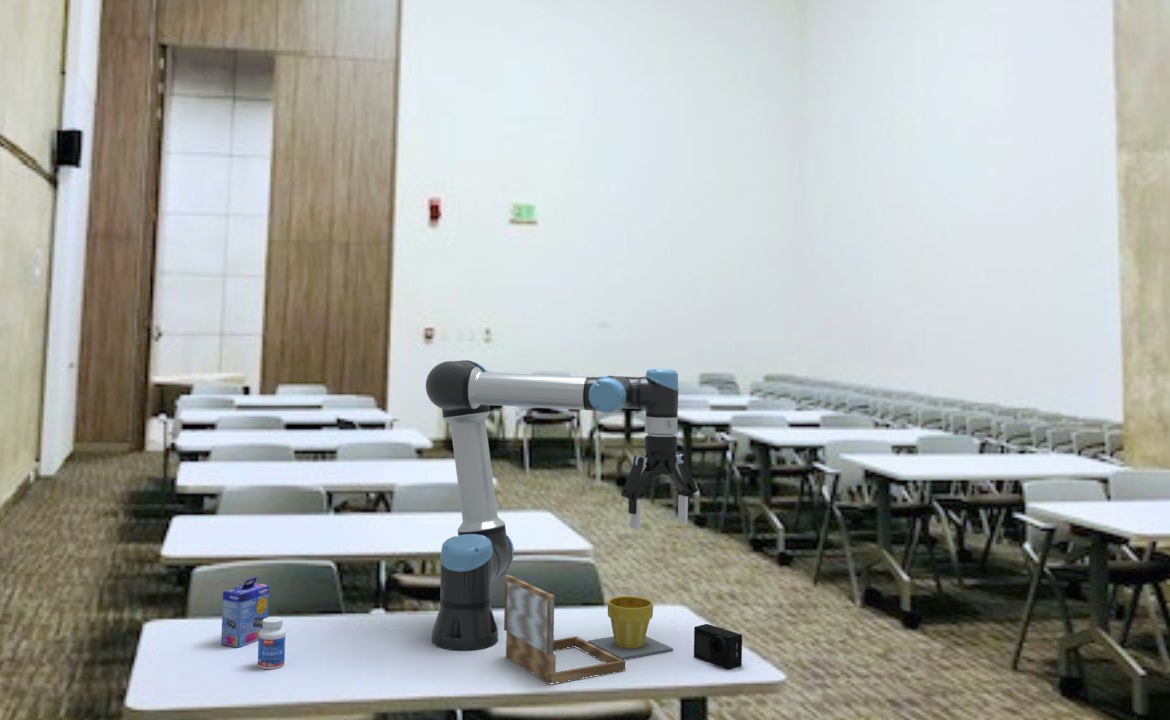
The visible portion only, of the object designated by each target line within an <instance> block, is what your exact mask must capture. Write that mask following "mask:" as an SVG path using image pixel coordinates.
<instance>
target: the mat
mask: <svg viewBox="0 0 1170 720" xmlns="http://www.w3.org/2000/svg"><path fill="white" fill-rule="evenodd" d="M587 642H589V643H591V644H593V645H594V646H596V647H598V648H600V649H602V650H604V651H606V652H608V653H610V654H612V655H614V656H616V657H618V658H620V659H622V660H624V659H627V660H631V659H630V658H633V659H637V658H636V657H638V658H642V657H643V656H644V657H648V656H649V657H650V656H654V655H659V654H660V655H661V654H665V653H670V652H673V651H674V648H673V647H671V646H669V645H666V644H665V643H662V642H660V641H657V640H656V639H653V638H651V637H649V636H647V635H646V637H645V641H644V645H643V646H641V647H639V648H622V647H619V646H617V645H616V644H615V641H614V635H613V636H609V637H602V638H595V639H590V640H589V639H588V640H587ZM624 661H625V660H624Z"/></svg>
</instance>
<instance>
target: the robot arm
mask: <svg viewBox="0 0 1170 720" xmlns="http://www.w3.org/2000/svg"><path fill="white" fill-rule="evenodd" d="M679 390H680V389H679V374H678V372H677V370H675V369H672V368H670V369H669V368H648V369H646V373H645V376H638V377H637V376H621V375H620V376H619V375H618V376H616V375H615V376H614V375H604V376H577V375H575V376H573V375H571V376H570V375H559V374H558V375H557V374H556V375H555V374H554V375H553V374H538V373H537V374H534V373H533V374H532V373H517V372H516V373H512V372H511V373H510V372H494V371H493V372H491V371H488V369H486V368H485V367H484V365H481V364H480V363H478V362H476V361H472V360H468V359H467V360H462V359H461V360H449V361H443V362H440V363H438V364H437V365H435V366H434V367H433V368H432V369H431V370H430V371H429V373H428V374H427V377H426V380H425V392H426V394H427V397H428V400H430V402H431V403H432V404H434V405H435V406H436V407H437V408H439V409H441V413H442V419H443V420H444V421H445V422H447V423H448V424H449V426H450V432H451V440H452V448H453V455H454V463H455V471H456V480H457V487H458V494H459V503H460V511H461V518H462V523H461V524H460V526H459V527H458V528H457V536H456V535H455V536H452V537H449V538H447V539H446V540H445V541H444V542H443V543H442V544H441V552H440V556H439V561H440V582H439V583H440V584H439V585H440V588H439V589H440V593H439V595H440V596H439V597H440V598H439V599H440V600H439V602H440V603H439V604H440V606H439V610H438V614H437V616H436V618H435V621H434V624H433V628H432V632H431V642H432V644H433V645H435V646H436V647H439V648H443V649H448V650H455V651H458V650H460V651H467V650H468V651H470V650H471V651H472V650H479V649H485V648H488V647H491V646H493V645H495V644H496V643H498V641H499V630H498V626H497V623H496V619H495V616H494V613H493V609H492V583H493V582H494V581H495V580H497V579H499V578H501V577H502V576H503V575H505V574H506V572H507V571H508V570H509V568H510V566H511V565H512V563H513V560H514V557H515V548H514V543H513V541H512V539H511V538H510V536H509V535H507V530H506V523H505V521H503V520H502V519H501V518H500V517H499V516H498V515H499V514H498V509H497V499H496V493H495V486H494V477H493V469H492V463H491V455H490V448H489V438H488V431H487V424H486V419H487V418H488V417H489V415H490V414H491V408H490V406H501V407H502V406H503V407H519V408H520V407H521V408H541V409H559V410H560V409H562V410H579V411H595V412H601V413H606V414H607V413H614V412H617V411H619V410H621V409H628V410H629V409H636V410H642V409H643V410H645V423H644V426H645V427H644V432H645V434H647V435H645V437H644V452H645V457H643V456H638V455H636V456H634V457H633V461H632V462H633V464H632V467H631V468H630V469H631V470H630V472H629V474H628V476H627V478H626V482H625V483H624V486H623V488H622V491H621V494H620V495H621V497H623V498H626V499H627V500H628V514H630V528H632V529H635V530H640V529H641V503H642V502H641V501H642V500H641V499H639V498H640V497H641V494H642V493H643V492H644V490H645V489H646V488H647V487H648V484H649V483H650V482H651V480H652V478H653V479H654V477H656V476H662V475H664V476H669V478H670V479H671V481H672V482H673V484H674V485H675V487H676V488H677V489H678V491H679V492H680V493H681V494H679V495H677V496H678V497H677V498H678V502H677V503H678V507H677V509H678V510H677V523H678V524H682V525H688V514H689V511H688V510H690V508H691V497H693V496H694V494H696V493H697V492H698V488H697V485H696V483H695V480H694V477H693V475H692V472H691V469H690V467H689V465H688V464H689V463H688V456H687V455H686V454H682V453H678V454H677V455H676V452H677V451H678V437H677V436H676V434H678V415H679V413H678V411H679ZM676 464H677V467H678V469H677V468H676V467H675V465H676ZM644 466H645V468H644ZM643 468H644V469H643ZM679 472H680V473H679ZM680 474H681V475H680Z"/></svg>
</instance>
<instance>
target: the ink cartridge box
mask: <svg viewBox="0 0 1170 720" xmlns="http://www.w3.org/2000/svg"><path fill="white" fill-rule="evenodd" d="M257 580H258V576H255V577H252V578H248V579H246V580H245V581H244V583H243V584H242V585H240V586H234V587H232V588H229V589H226V590H223V592H222V615H221V617H222V618H221V639H220V640H221V642H220V643H221V645H224V644H225V645H224V646H228V645H229V646H230V647H232V646H233V647H234V648H236V647H238V648H241V647H245V646H247V645H249V644H252V643H255V642H258V639H259V632H260V631H261V630H262V629H264V628H263V619H265V618H269V605H270V604H269V603H270V601H269V599H270V585H269V584H268V585H267V584H265V583H264V584H263V583H259V582H257ZM238 648H237V649H238Z"/></svg>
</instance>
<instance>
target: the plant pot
mask: <svg viewBox="0 0 1170 720" xmlns="http://www.w3.org/2000/svg"><path fill="white" fill-rule="evenodd" d="M607 616H608V618H609V619H610V623H611V629H612V633H613V634H612V635H613V636H614V641H615V644H616V645H617V646H619V647H622V648H639V647H641V646H643V645H644V641H645V637H646V636H647V632H648V628H649V624H650V620H652V619H653V617H654V603H653V601H652V600H651V599H648V598H646V597H643V596H633V595H623V596H621V595H620V596H615V597H612V598H609V600H608V601H607Z"/></svg>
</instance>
